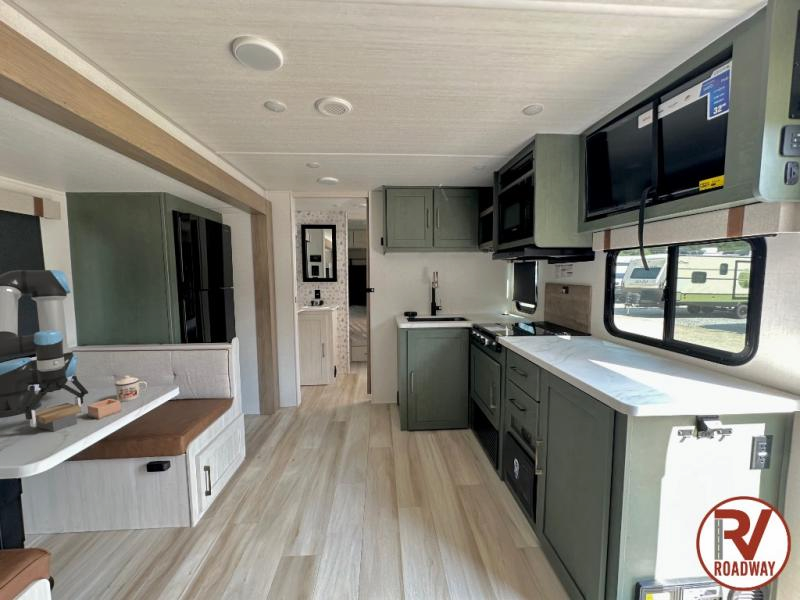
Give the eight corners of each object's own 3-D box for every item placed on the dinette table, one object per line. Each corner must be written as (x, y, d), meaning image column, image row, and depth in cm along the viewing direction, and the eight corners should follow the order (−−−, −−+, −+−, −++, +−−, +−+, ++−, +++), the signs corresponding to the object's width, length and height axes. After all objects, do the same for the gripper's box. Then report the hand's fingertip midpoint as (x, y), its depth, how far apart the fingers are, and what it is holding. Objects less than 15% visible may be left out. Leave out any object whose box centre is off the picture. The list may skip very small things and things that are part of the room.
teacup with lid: (116, 403, 152) (114, 380, 151) (116, 398, 158) (114, 375, 157) (148, 397, 160) (146, 374, 159) (147, 392, 166) (145, 370, 165)
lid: (30, 419, 127) (30, 413, 127) (67, 408, 137) (66, 402, 137) (45, 423, 123) (44, 417, 123) (81, 412, 133) (81, 406, 133)
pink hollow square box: (88, 416, 138) (87, 405, 138) (110, 409, 146) (109, 398, 145) (99, 419, 135) (97, 408, 135) (121, 411, 143) (120, 401, 142)
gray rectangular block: (38, 426, 130) (37, 417, 129) (61, 419, 136) (60, 410, 136) (53, 431, 125) (52, 421, 125) (77, 423, 132) (76, 414, 131)
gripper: (9, 379, 116) (16, 434, 117) (95, 361, 139) (100, 408, 140) (0, 377, 118) (7, 431, 120) (85, 360, 141) (90, 405, 143)
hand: (57, 419), depth 130 cm, fingers open, 13 cm apart
